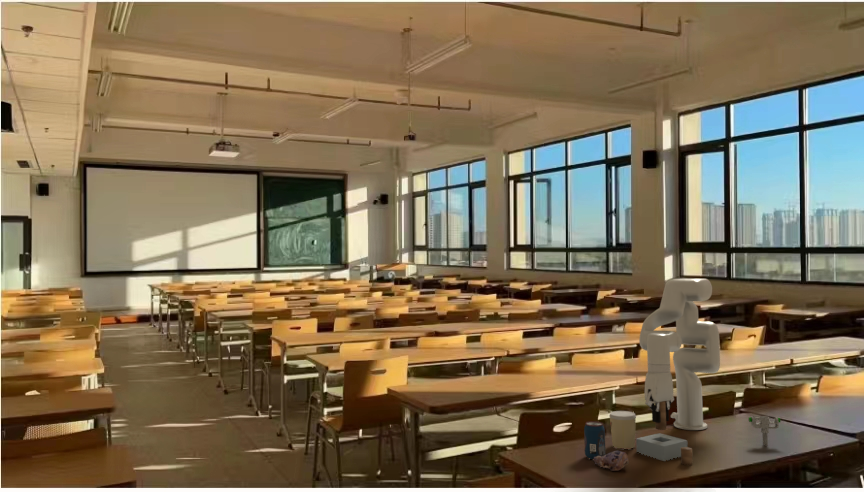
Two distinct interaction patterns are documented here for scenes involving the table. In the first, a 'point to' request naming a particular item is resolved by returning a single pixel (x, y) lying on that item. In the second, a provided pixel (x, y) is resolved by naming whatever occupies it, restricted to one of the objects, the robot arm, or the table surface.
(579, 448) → the table surface
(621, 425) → the coffee cup
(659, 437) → the hole block
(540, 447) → the table surface
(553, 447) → the table surface
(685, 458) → the short dowel
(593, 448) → the soda can
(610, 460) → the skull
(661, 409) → the long dowel
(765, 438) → the mechanical component
